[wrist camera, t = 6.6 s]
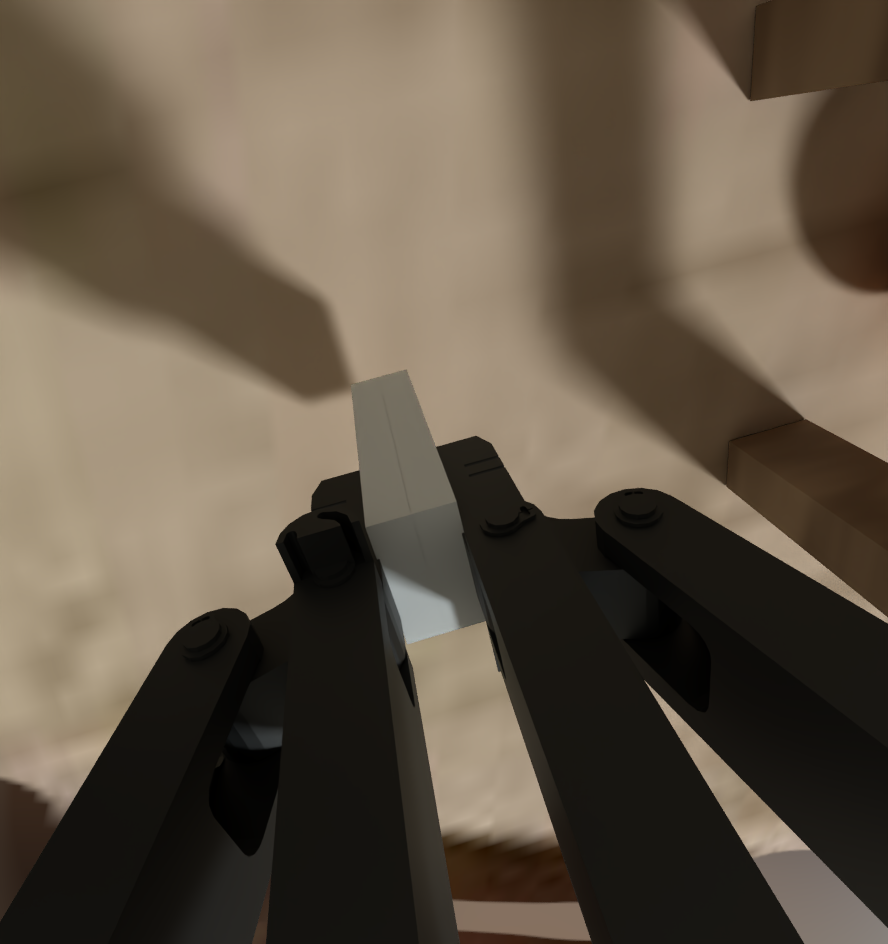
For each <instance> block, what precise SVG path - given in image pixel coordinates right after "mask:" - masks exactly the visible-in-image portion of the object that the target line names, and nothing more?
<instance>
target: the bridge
mask: <svg viewBox="0 0 888 944" xmlns="http://www.w3.org/2000/svg"><path fill="white" fill-rule="evenodd" d="M881 81H888V0H772V1H769V2H766V3H763V4H761V5H758V6H756V19H755V35H754V51H753V68H752V84H751V100H750V101H755V100H761V99H768V98H775V97H781V96H788V95H795V94H801V93H808V92H815V91H821V90H828V89H835V88H841V87H848V86H855V85H861V84H868V83H875V82H881ZM726 487H728V488H729V489H730V490H731V491H733V492H734V493H735V494H736V495H738V496H739V497H740V498H741V499H742V500H744V501H745V502H746V503H747V504H749V505H750V506H751V507H752V508H754V509H755V510H756V511H757V512H759V513H760V514H761V515H762V516H763V517H765V518H766V519H767V520H768V521H770V522H771V523H772V524H773V525H775V526H776V527H777V528H778V529H779V530H781V531H782V532H783V533H784V534H786V535H787V536H788V537H789V538H791V539H792V540H793V541H794V542H796V543H797V544H798V545H799V546H800V547H802V548H803V549H804V550H805V551H807V552H808V553H809V554H810V555H812V556H813V557H814V558H815V559H817V560H818V561H819V562H820V563H821V564H823V565H824V566H825V567H826V568H828V569H829V570H830V571H831V572H833V573H834V574H835V575H836V576H838V577H839V578H840V579H841V580H842V581H844V582H845V583H846V584H847V585H849V586H850V587H851V588H852V589H854V590H855V591H856V592H857V593H858V594H860V595H861V596H862V597H863V598H865V599H866V600H867V601H868V602H870V603H871V604H872V605H873V606H875V607H876V608H877V609H878V610H879V611H881V612H882V613H883V614H884V615H886V616H887V617H888V463H887V462H885V461H883V460H881V459H879V458H878V457H876V456H874V455H872V454H870V453H868V452H866V451H864V450H863V449H861V448H859V447H857V446H855V445H853V444H851V443H849V442H848V441H846V440H844V439H842V438H840V437H838V436H836V435H834V434H833V433H831V432H829V431H827V430H825V429H823V428H821V427H819V426H818V425H816V424H814V423H812V422H810V421H808V420H806V419H805V420H802V421H798V422H795V423H791V424H788V425H784V426H781V427H777V428H774V429H771V430H767V431H764V432H760V433H757V434H753V435H750V436H746V437H743V438H739V439H736V440H732V441H729V454H728V470H727V486H726Z"/></svg>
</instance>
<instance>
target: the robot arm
mask: <svg viewBox="0 0 888 944" xmlns="http://www.w3.org/2000/svg"><path fill="white" fill-rule="evenodd" d="M351 390H352V400H353V410H354V420H355V430H356V440H357V450H358V460H359V471H355V472H352V473H348V474H344V475H341V476H337V477H334V478H330V479H327V480H323V481H321V483H320V484H319V486H318V487H317V489H316V490H315V492H314V493H313V495H312V503H311V511H312V512H310V513H307V514H305V515H302V516H301V517H299V518H298V519H296V520H295V521H293V522H292V523H290V524H289V525H288V526H287V527H286V528H285V529H284V530H283V531H282V532H281V533H280V535H279V537H278V540H277V542H276V547H277V549H278V551H279V553H280V555H281V557H282V559H283V561H284V563H285V565H286V568H287V570H288V572H289V574H290V576H291V578H292V580H293V582H294V593H293V594H292V595H291V596H290V597H289V598H288V599H287V600H285V601H284V602H282V603H281V604H279V605H278V606H276V607H274V608H273V609H271V610H269V611H267V612H265V613H263V614H261V615H259V616H258V617H256V618H254V619H252V620H249V618H248V616H247V614H246V613H244V612H242V611H240V610H238V609H234V608H222V609H218V610H214V611H210V612H207V613H205V614H203V615H201V616H199V617H197V618H195V619H193V620H191V621H190V622H189V623H188V624H186V625H185V626H184V627H183V628H181V629H180V630H179V631H178V632H177V633H176V634H175V635H174V636H173V638H172V639H171V640H170V641H169V643H168V644H167V645H166V647H165V648H164V650H163V652H162V653H161V655H160V657H159V658H158V660H157V662H156V663H155V665H154V666H153V668H152V670H151V671H150V673H149V675H148V676H147V678H146V680H145V681H144V683H143V685H142V686H141V688H140V690H139V691H138V693H137V695H136V696H135V698H134V700H133V701H132V703H131V705H130V706H129V708H128V710H127V711H126V713H125V715H124V716H123V718H122V720H121V721H120V723H119V725H118V726H117V728H116V730H115V731H114V733H113V735H112V736H111V738H110V740H109V741H108V743H107V745H106V746H105V748H104V750H103V751H102V753H101V755H100V756H99V758H98V760H97V761H96V763H95V765H94V766H93V768H92V770H91V771H90V773H89V775H88V776H87V778H86V780H85V781H84V783H83V785H82V786H81V788H80V790H79V791H78V793H77V795H76V796H75V798H74V800H73V801H72V803H71V805H70V806H69V808H68V810H67V811H66V813H65V815H64V816H63V818H62V820H61V821H60V823H59V825H58V826H57V828H56V830H55V831H54V833H53V835H52V836H51V838H50V840H49V841H48V843H47V845H46V846H45V848H44V850H43V851H42V853H41V855H40V856H39V858H38V860H37V862H36V863H35V865H34V867H33V868H32V870H31V871H30V873H29V875H28V877H27V878H26V880H25V881H24V883H23V885H22V887H21V888H20V890H19V892H18V893H17V895H16V896H15V898H14V900H13V901H12V903H11V905H10V906H9V908H8V910H7V912H6V913H5V915H4V916H3V918H2V920H1V921H0V944H252V941H253V937H254V933H255V930H256V926H257V923H258V919H259V915H260V912H261V908H262V904H263V901H264V897H265V894H266V890H267V886H268V883H269V879H270V876H271V887H270V900H269V913H268V925H267V938H266V944H460V942H459V936H458V930H457V925H456V919H455V913H454V907H453V901H452V895H451V889H450V883H449V878H448V872H447V866H446V860H445V854H444V848H443V842H442V837H441V831H440V825H439V819H438V813H437V807H436V801H435V795H434V790H433V784H432V778H431V772H430V766H429V760H428V754H427V749H426V743H425V737H424V731H423V725H422V719H421V713H420V707H419V702H418V696H417V690H416V684H415V678H414V672H413V667H412V664H411V661H410V659H409V656H408V653H407V650H406V647H405V641H404V636H405V639H406V642H407V644H410V643H413V642H417V641H420V640H423V639H427V638H430V637H433V636H437V635H440V634H443V633H447V632H450V631H454V630H457V629H460V628H464V627H467V626H470V625H474V624H477V623H480V622H484V621H486V623H487V627H488V631H489V635H490V639H491V643H492V647H493V652H494V656H495V660H496V664H497V668H498V672H500V671H501V673H502V676H503V679H504V682H505V685H506V688H507V691H508V694H509V697H510V700H511V703H512V706H513V709H514V712H515V715H516V718H517V721H518V724H519V727H520V730H521V733H522V736H523V739H524V742H525V745H526V748H527V751H528V754H529V757H530V759H531V762H532V765H533V768H534V771H535V774H536V777H537V780H538V783H539V786H540V789H541V792H542V795H543V798H544V801H545V804H546V807H547V810H548V813H549V816H550V819H551V822H552V825H553V828H554V831H555V834H556V837H557V840H558V843H559V846H560V849H561V852H562V855H563V858H564V861H565V864H566V867H567V870H568V873H569V876H570V879H571V882H572V885H573V888H574V891H575V893H576V896H577V899H578V902H579V905H580V908H581V911H582V914H583V917H584V920H585V923H586V926H587V929H588V932H589V935H590V938H591V941H592V944H804V943H803V941H802V939H801V938H800V936H799V934H798V933H797V931H796V929H795V928H794V926H793V924H792V923H791V921H790V920H789V918H788V916H787V915H786V913H785V911H784V910H783V908H782V906H781V905H780V903H779V901H778V900H777V898H776V896H775V895H774V893H773V892H772V890H771V888H770V886H769V885H768V883H767V882H766V880H765V878H764V877H763V875H762V873H761V872H760V870H759V868H758V867H757V865H756V863H755V862H754V860H753V859H752V857H751V855H750V854H749V852H748V850H747V849H746V847H745V845H744V844H743V842H742V840H741V839H740V837H739V835H738V834H737V832H736V831H735V829H734V827H733V826H732V824H731V822H730V821H729V819H728V817H727V816H726V814H725V812H724V811H723V809H722V807H721V806H720V804H719V803H718V801H717V799H716V798H715V796H714V794H713V793H712V791H711V789H710V788H709V786H708V784H707V783H706V781H705V780H704V778H703V776H702V775H701V773H700V771H699V770H698V768H697V766H696V765H695V763H694V761H693V760H692V758H691V756H690V755H689V753H688V752H687V750H686V748H685V747H684V745H683V743H682V742H681V740H680V738H679V737H678V735H677V733H676V732H675V730H674V728H673V727H672V725H671V724H670V722H669V720H668V719H667V717H666V715H665V714H664V712H663V710H662V709H661V707H660V705H659V704H658V702H657V701H656V699H655V697H654V696H653V694H652V692H651V691H650V689H649V687H648V686H647V684H646V682H647V683H648V684H649V685H650V686H651V687H652V688H653V689H654V690H655V691H656V692H657V693H658V694H659V695H660V696H661V697H662V698H663V699H664V700H665V701H666V702H667V704H668V705H669V706H670V707H671V708H672V709H673V710H674V711H675V712H676V713H677V714H678V715H679V716H680V717H681V718H682V719H683V720H684V721H685V722H686V723H687V724H688V725H689V726H690V727H691V728H692V729H693V730H694V731H695V732H696V733H697V734H698V735H699V736H700V737H701V738H702V739H703V740H704V741H705V742H706V743H707V744H708V745H709V746H710V747H711V748H712V749H713V750H714V751H715V752H716V753H717V754H718V755H719V756H720V757H721V759H722V760H723V761H724V762H725V763H726V764H727V765H728V766H729V767H730V768H731V769H732V770H733V771H734V772H735V773H736V774H737V775H738V776H739V777H740V778H741V779H742V780H743V781H744V782H745V783H746V784H747V785H748V786H749V787H750V788H751V789H752V790H753V791H754V792H755V793H756V794H757V795H758V796H759V797H760V798H761V799H762V800H763V801H764V802H765V803H766V804H767V805H768V806H769V807H770V808H771V809H772V810H773V811H774V812H775V814H776V815H777V816H778V817H779V818H780V819H781V820H782V821H783V822H784V823H785V824H786V825H787V826H788V827H789V828H790V829H791V830H792V831H793V832H794V833H795V834H796V835H797V836H798V837H799V838H800V839H801V840H802V841H803V842H804V843H805V844H806V845H807V846H808V847H809V848H810V849H811V850H812V851H813V852H814V853H815V854H816V855H817V856H818V857H819V858H820V859H821V860H822V861H823V862H824V863H825V864H826V865H827V866H828V867H829V869H830V870H831V871H833V873H834V874H835V875H836V876H837V877H838V878H839V879H840V880H841V881H842V882H843V883H844V884H845V885H846V886H847V887H848V888H849V889H850V890H851V891H852V892H853V893H854V894H855V895H856V896H857V897H858V898H859V899H860V900H861V901H862V902H863V903H864V904H865V905H866V906H867V907H868V908H869V909H870V910H871V911H872V912H873V913H874V914H875V915H876V916H877V917H878V918H879V919H880V920H881V921H882V922H883V924H884V925H885V926H887V928H888V624H887V623H886V622H884V621H882V620H881V619H879V618H877V617H876V616H874V615H872V614H871V613H869V612H867V611H866V610H864V609H862V608H860V607H859V606H857V605H855V604H854V603H852V602H850V601H849V600H847V599H845V598H844V597H842V596H840V595H838V594H837V593H835V592H833V591H832V590H830V589H828V588H827V587H825V586H823V585H822V584H820V583H818V582H816V581H815V580H813V579H811V578H810V577H808V576H806V575H805V574H803V573H801V572H800V571H798V570H796V569H794V568H793V567H791V566H789V565H788V564H786V563H784V562H783V561H781V560H779V559H778V558H776V557H774V556H772V555H771V554H769V553H767V552H766V551H764V550H762V549H761V548H759V547H757V546H756V545H754V544H752V543H750V542H749V541H747V540H745V539H744V538H742V537H740V536H739V535H737V534H735V533H734V532H732V531H730V530H728V529H727V528H725V527H723V526H722V525H720V524H718V523H717V522H715V521H713V520H712V519H710V518H708V517H707V516H705V515H703V514H701V513H700V512H698V511H696V510H695V509H693V508H691V507H690V506H688V505H686V504H685V503H683V502H681V501H679V500H678V499H676V498H674V497H673V496H671V495H668V494H666V493H663V492H661V491H658V490H652V489H645V488H635V489H624V490H621V491H618V492H615V493H612V494H609V495H608V496H606V497H605V498H604V499H602V500H601V501H599V503H598V505H597V506H596V508H595V510H594V515H595V518H582V519H556V518H550V517H546V516H544V515H543V513H542V511H541V510H539V509H538V508H537V507H536V506H535V505H534V504H532V503H529V502H526V501H524V499H523V497H522V496H521V494H520V492H519V490H518V489H517V487H516V485H515V483H514V482H513V480H512V478H511V477H510V475H509V473H508V471H507V470H506V468H504V465H503V463H502V461H501V459H500V458H499V457H498V454H497V453H496V451H495V449H494V447H493V446H492V444H491V443H489V442H487V441H485V440H483V439H481V438H480V437H478V436H474V437H470V438H467V439H463V440H460V441H456V442H452V443H449V444H445V445H442V446H438V447H436V446H435V443H434V441H433V438H432V435H431V433H430V430H429V428H428V425H427V422H426V420H425V417H424V414H423V412H422V409H421V406H420V404H419V401H418V399H417V396H416V393H415V391H414V388H413V385H412V383H411V380H410V377H409V375H408V372H407V370H403V371H399V372H395V373H392V374H388V375H384V376H381V377H377V378H373V379H370V380H366V381H362V382H359V383H355V384H351ZM403 633H404V635H403ZM644 680H645V681H646V682H645V681H644ZM271 872H272V874H271Z"/></svg>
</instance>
